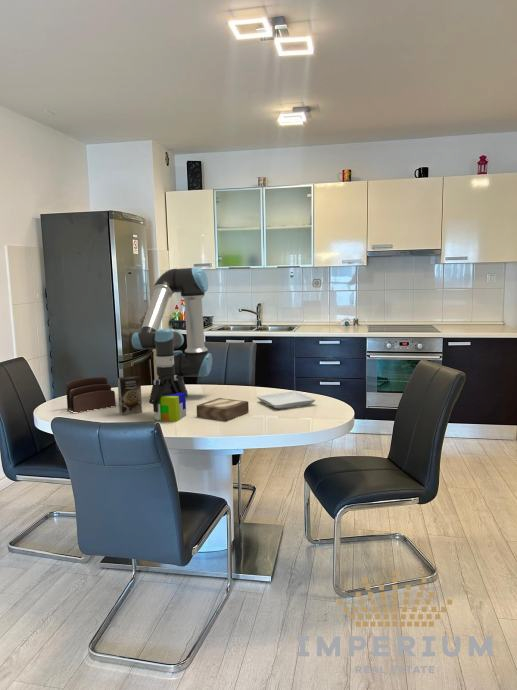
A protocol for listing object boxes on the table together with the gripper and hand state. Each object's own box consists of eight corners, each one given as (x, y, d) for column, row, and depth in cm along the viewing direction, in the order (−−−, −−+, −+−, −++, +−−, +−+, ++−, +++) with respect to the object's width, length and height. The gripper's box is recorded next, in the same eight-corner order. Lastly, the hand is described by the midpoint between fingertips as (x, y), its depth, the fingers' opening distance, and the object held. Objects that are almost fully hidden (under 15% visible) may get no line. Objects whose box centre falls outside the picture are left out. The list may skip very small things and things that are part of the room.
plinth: (196, 416, 219) (196, 405, 218) (219, 408, 232) (219, 397, 231) (226, 421, 210) (226, 409, 209) (248, 412, 223) (248, 401, 222)
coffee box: (122, 415, 225) (120, 379, 223) (119, 412, 230) (116, 377, 228) (142, 412, 229) (140, 377, 227) (139, 409, 234) (137, 375, 233)
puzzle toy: (186, 415, 221) (185, 393, 220) (176, 421, 212) (175, 398, 210) (165, 414, 224) (164, 392, 223) (154, 420, 214) (153, 397, 213)
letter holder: (67, 410, 239) (65, 380, 237) (108, 403, 251) (106, 375, 249) (74, 414, 231) (71, 383, 229) (116, 406, 243) (114, 377, 241)
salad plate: (275, 412, 224) (274, 404, 224) (256, 402, 244) (255, 395, 243) (317, 406, 233) (316, 398, 232) (295, 397, 252) (295, 390, 252)
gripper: (151, 370, 204) (154, 423, 206) (190, 362, 223) (192, 411, 226) (138, 369, 208) (141, 421, 210) (178, 361, 228) (180, 409, 230)
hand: (167, 416), depth 218 cm, fingers closed on puzzle toy, 11 cm apart
